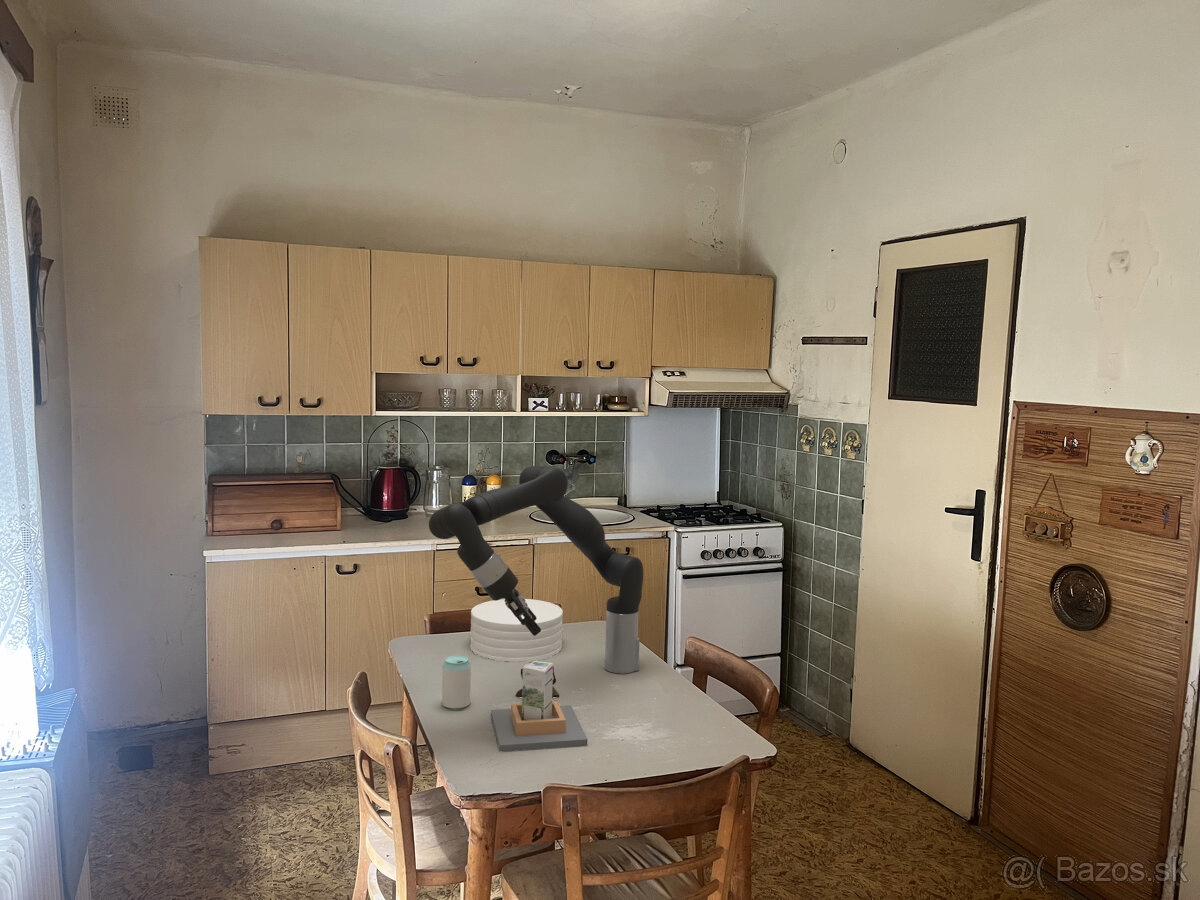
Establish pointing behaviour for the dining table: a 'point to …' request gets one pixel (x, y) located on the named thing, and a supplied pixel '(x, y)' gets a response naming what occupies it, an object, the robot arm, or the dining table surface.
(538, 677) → the syrup box
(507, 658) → the plate stack
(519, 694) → the clothes iron
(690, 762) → the dining table surface
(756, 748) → the dining table surface
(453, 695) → the can
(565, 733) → the collar stand
